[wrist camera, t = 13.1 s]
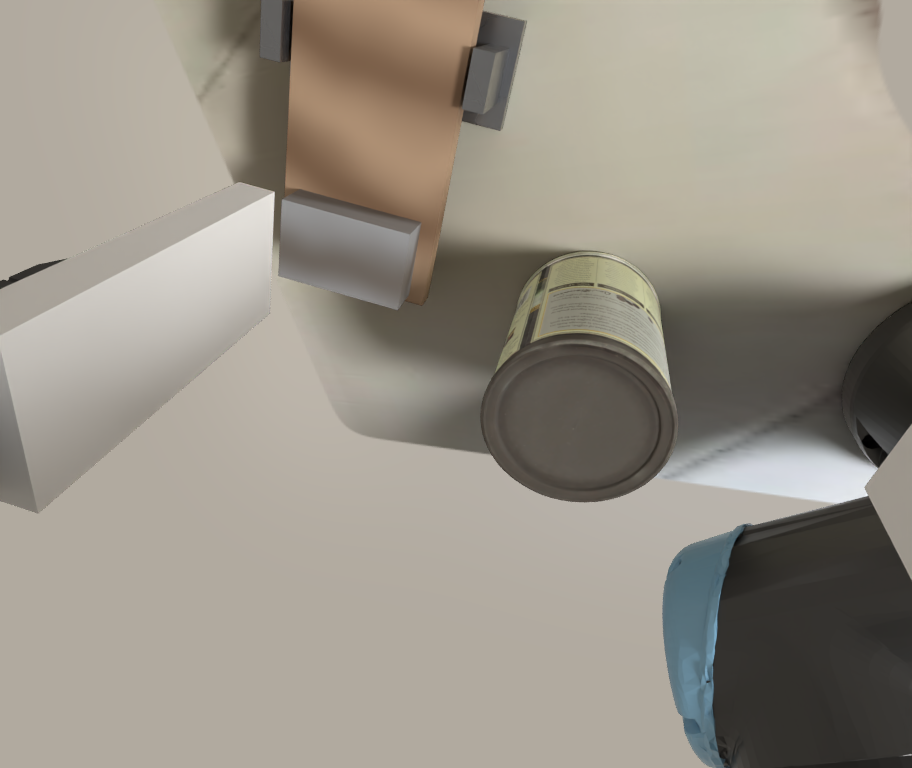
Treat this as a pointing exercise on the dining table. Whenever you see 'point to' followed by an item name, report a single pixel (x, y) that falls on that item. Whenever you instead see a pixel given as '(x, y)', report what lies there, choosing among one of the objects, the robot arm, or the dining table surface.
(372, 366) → the dining table surface
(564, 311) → the coffee can
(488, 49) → the pivot stand
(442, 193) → the beam
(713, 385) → the dining table surface
